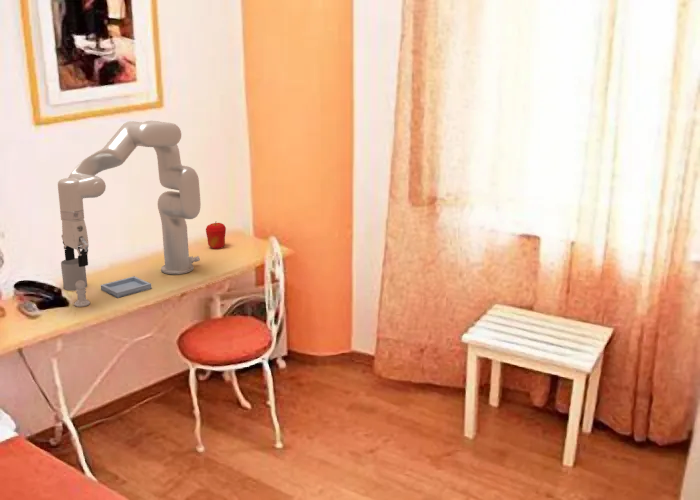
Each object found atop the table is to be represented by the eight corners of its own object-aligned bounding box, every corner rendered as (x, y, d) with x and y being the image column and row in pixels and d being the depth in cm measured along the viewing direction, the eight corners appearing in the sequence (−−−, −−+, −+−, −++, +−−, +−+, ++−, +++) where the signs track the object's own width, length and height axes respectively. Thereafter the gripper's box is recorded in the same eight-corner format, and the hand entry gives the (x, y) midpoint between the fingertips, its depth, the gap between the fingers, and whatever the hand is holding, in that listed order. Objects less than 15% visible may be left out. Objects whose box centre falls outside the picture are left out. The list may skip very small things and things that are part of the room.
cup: (79, 291, 298) (77, 265, 296) (59, 290, 300) (56, 264, 297) (91, 283, 306) (88, 258, 303) (71, 282, 308) (68, 257, 305)
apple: (218, 243, 356) (217, 217, 353) (230, 247, 351) (229, 220, 348) (202, 247, 350) (201, 221, 347) (215, 251, 345) (213, 224, 341)
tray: (134, 281, 309) (134, 276, 308) (151, 288, 301) (151, 283, 300) (101, 290, 300) (100, 284, 299) (117, 298, 292) (117, 292, 291)
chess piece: (93, 303, 287) (90, 278, 284) (83, 308, 282) (80, 283, 280) (81, 301, 289) (78, 277, 286) (71, 306, 284) (68, 281, 281)
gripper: (94, 217, 272) (99, 266, 277) (70, 208, 284) (75, 255, 289) (73, 221, 267) (78, 270, 272) (50, 212, 279) (55, 259, 284)
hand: (76, 262), depth 281 cm, fingers open, 9 cm apart
